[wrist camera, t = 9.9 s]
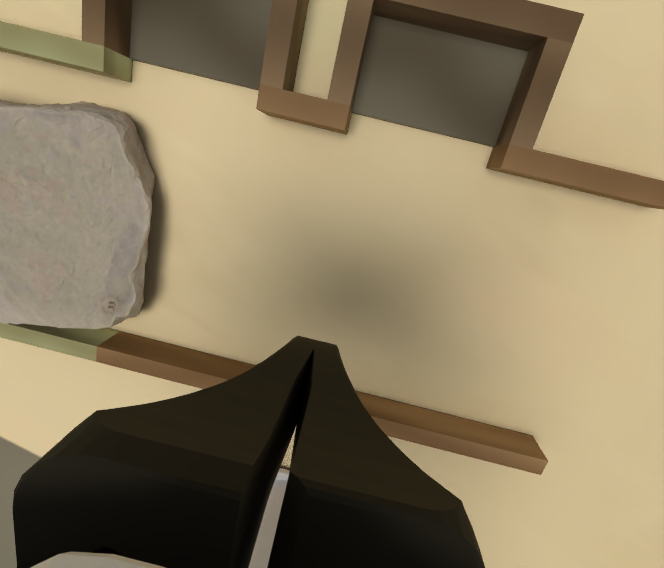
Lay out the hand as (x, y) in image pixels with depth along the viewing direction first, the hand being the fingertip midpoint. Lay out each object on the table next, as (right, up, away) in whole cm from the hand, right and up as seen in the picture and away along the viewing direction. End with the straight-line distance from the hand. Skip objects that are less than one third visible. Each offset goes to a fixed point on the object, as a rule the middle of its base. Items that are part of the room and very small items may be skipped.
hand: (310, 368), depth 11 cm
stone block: (-13, +7, +10) cm, 18 cm away
